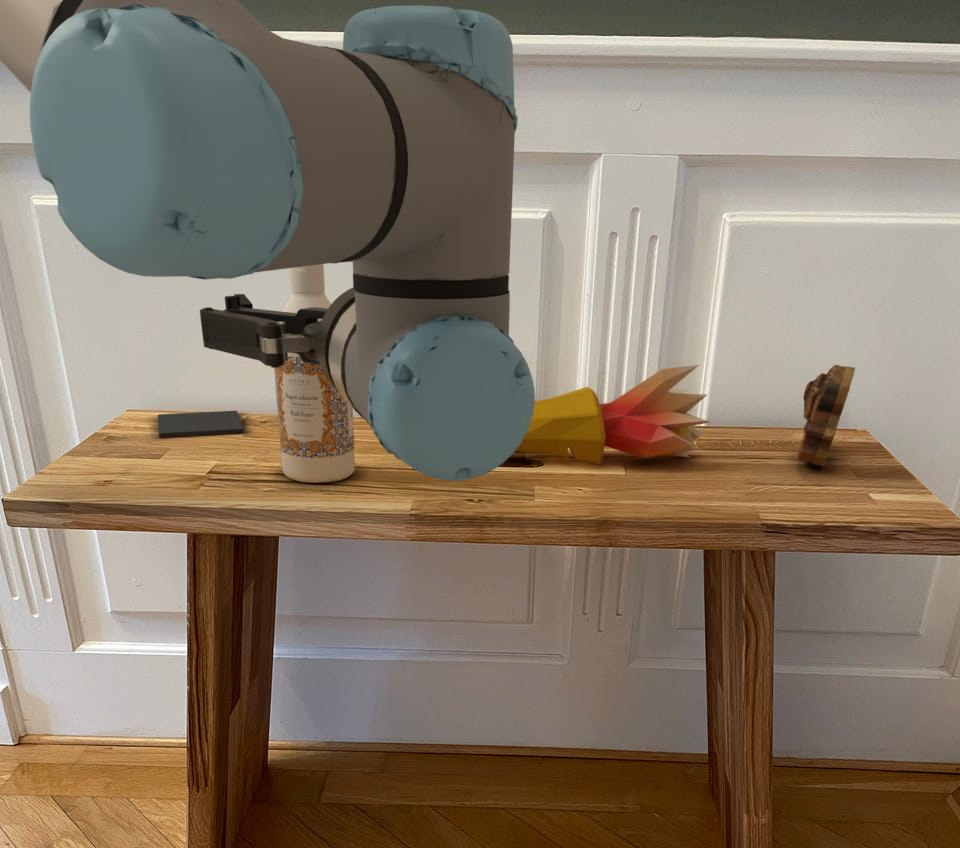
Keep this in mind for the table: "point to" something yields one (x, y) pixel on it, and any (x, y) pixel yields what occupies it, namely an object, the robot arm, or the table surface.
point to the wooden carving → (823, 412)
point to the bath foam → (312, 402)
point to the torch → (617, 421)
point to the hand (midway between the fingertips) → (328, 310)
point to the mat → (199, 424)
